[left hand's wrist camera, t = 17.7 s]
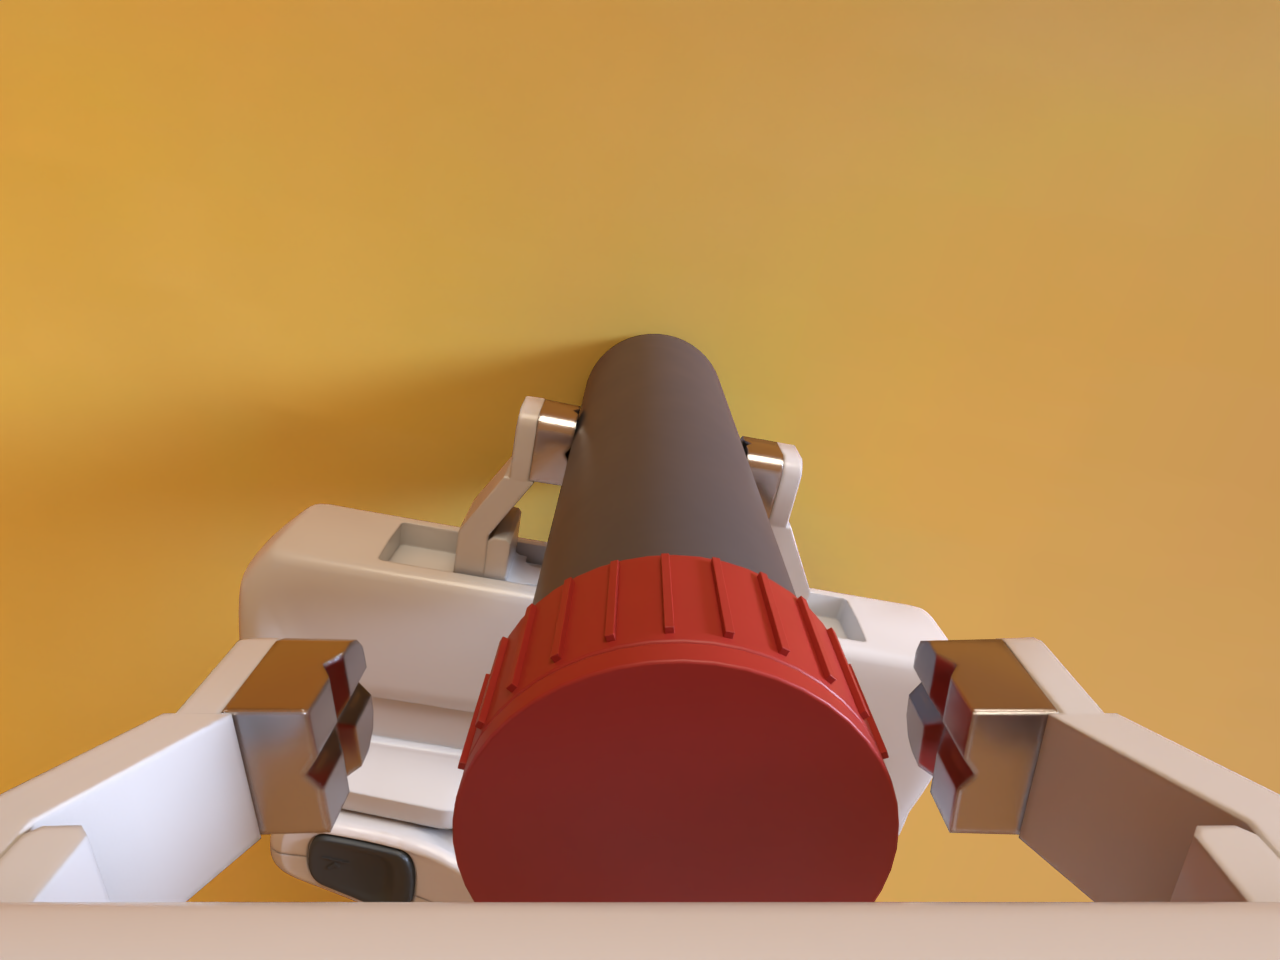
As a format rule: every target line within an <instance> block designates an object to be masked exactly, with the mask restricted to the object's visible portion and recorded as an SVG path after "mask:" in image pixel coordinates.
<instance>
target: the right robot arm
mask: <svg viewBox="0 0 1280 960" xmlns="http://www.w3.org/2000/svg"><path fill="white" fill-rule="evenodd" d="M579 413H580V406H576V405H571V404H566V403H561V402H556V401H551V400H546V399H544V398H538V397H531V396H526V398H525V400H524V402H523V404H522V406H521V409H520V413H519V417H518V422H517V426H516V433H515V440H514V447H513V454H512V456H511V458H510V459H509V460H508V461H507V462H506V463H505V465H504V466H503V467H502V468H501V469H500V470H499V471H498V473H497V474H496V475H495V476H494V477H493V478H492V480H491V481H490V482H489V483H488V484H487V485H486V486H485V488H484V489H483V490H482V491H481V492H480V493H479V495H478V496H477V497H476V498H475V499H474V501H473V503H472V505H471V507H470V509H469V511H468V513H467V515H466V517H465V519H464V521H463V523H462V525H461V527H456V526H450V525H444V524H439V523H433V522H427V521H421V520H416V519H410V518H404V517H398V516H393V515H387V514H381V513H375V512H370V511H364V510H358V509H352V508H347V507H342V506H336V505H330V504H315V505H313V506H310V507H309V508H307V509H306V510H304V511H303V512H301V513H300V514H299V515H297V516H296V517H295V518H293V519H292V520H291V521H290V522H288V523H287V524H286V525H284V526H283V527H282V528H281V529H280V530H279V531H278V532H277V533H275V534H274V535H273V536H272V537H271V538H270V539H269V540H268V541H267V542H266V544H265V545H264V546H263V547H262V548H261V549H260V550H259V551H258V552H257V554H256V555H255V556H254V558H253V559H252V561H251V562H250V564H249V565H248V567H247V569H246V571H245V573H244V575H243V578H242V581H241V586H240V595H239V638H240V640H243V639H246V638H281V639H284V638H305V639H353V640H357V641H358V642H359V643H360V644H361V645H362V646H363V650H364V655H365V660H366V665H367V668H366V669H365V671H364V673H363V675H362V677H361V679H360V681H359V683H360V684H361V685H362V686H363V687H364V688H365V689H366V690H367V691H368V692H369V693H370V694H371V697H372V704H373V732H372V737H371V742H370V747H369V751H368V753H367V755H366V757H365V760H364V762H363V764H362V766H361V767H360V768H358V769H357V770H356V771H354V772H353V773H351V774H350V775H349V776H347V779H348V785H349V791H350V792H349V794H348V797H347V799H346V801H345V803H344V805H343V807H342V809H341V811H340V813H339V815H338V818H337V820H336V822H335V824H334V826H333V828H332V830H331V832H330V833H295V834H271V839H270V850H271V855H272V858H273V860H274V862H275V864H276V865H277V866H278V867H279V868H280V869H281V870H283V871H284V872H285V873H287V874H289V875H291V876H293V877H295V878H297V879H300V880H302V881H305V882H307V883H310V884H312V885H315V886H318V887H320V888H323V889H326V890H328V891H331V892H334V893H336V894H339V895H341V896H344V897H346V898H349V899H351V900H353V901H356V902H474V901H473V899H472V897H471V895H470V894H469V892H468V890H467V888H466V887H465V884H464V882H463V879H462V876H461V874H460V871H459V868H458V866H457V861H456V856H455V851H454V845H453V825H452V819H453V813H454V807H455V806H454V804H455V800H456V796H457V792H458V789H459V785H460V782H461V779H462V776H463V772H464V770H462V769H458V764H459V761H460V757H461V754H462V751H463V747H464V744H465V741H466V738H467V734H468V731H469V728H470V724H471V721H472V718H473V715H474V711H475V708H476V705H477V701H478V698H479V695H480V692H481V688H482V685H483V682H484V678H485V675H486V674H490V673H491V669H492V666H493V663H494V659H495V656H496V652H497V649H498V646H499V642H500V640H501V639H502V637H503V636H504V637H506V638H508V636H509V635H510V634H511V632H512V631H513V629H514V628H515V627H516V625H517V624H518V623H519V621H520V620H521V619H522V618H523V617H524V616H525V613H526V609H527V607H528V606H529V605H530V604H531V603H533V599H534V595H535V591H536V587H537V583H538V579H539V575H540V571H541V567H542V563H543V559H544V555H545V551H546V547H547V543H548V542H542V541H537V540H531V539H525V538H519V537H518V533H519V525H520V518H521V511H520V509H519V508H516V507H514V505H515V504H516V503H517V502H518V501H519V499H520V498H521V497H522V496H523V495H524V494H525V492H526V491H527V490H528V489H529V488H530V487H531V485H532V484H533V483H534V481H535V482H541V483H548V484H554V485H561V486H562V482H563V478H564V474H565V470H566V466H567V462H568V458H569V454H570V450H571V446H572V443H573V440H574V436H575V432H576V427H577V424H578V419H579ZM740 440H741V443H742V446H743V449H744V451H745V454H746V457H747V460H748V463H749V465H750V468H751V471H752V474H753V477H754V479H755V482H756V485H757V488H758V491H759V493H760V496H761V499H762V502H763V505H764V507H765V510H766V513H767V516H768V519H769V521H770V524H771V527H772V530H773V533H774V535H775V538H776V541H777V544H778V547H779V549H780V552H781V555H782V558H783V561H784V563H785V566H786V569H787V572H788V575H789V577H790V580H791V583H792V586H793V589H794V591H795V594H796V597H797V598H799V597H800V596H802V597H803V598H805V599H806V601H807V603H808V606H809V608H810V609H811V611H812V612H813V613H814V614H815V615H816V616H817V617H818V618H819V620H820V621H821V622H822V623H823V624H824V626H825V627H826V629H829V628H831V627H832V628H833V630H834V631H835V633H836V635H837V638H838V640H839V643H840V645H841V647H842V650H843V652H844V655H845V657H846V660H847V662H848V664H851V666H852V668H853V670H854V673H855V675H856V678H857V680H858V682H859V685H860V687H861V690H862V692H863V694H864V697H865V699H866V702H867V704H868V706H869V709H870V711H871V714H872V716H873V718H874V721H875V723H876V726H877V728H878V730H879V733H880V735H881V737H882V740H883V742H884V745H885V747H886V749H887V752H888V755H889V758H886V759H883V761H884V763H885V765H886V768H887V770H888V773H889V775H890V777H891V780H892V783H893V787H894V791H895V795H896V799H897V803H898V816H899V832H898V836H899V834H900V832H901V830H902V827H903V825H904V823H905V820H906V818H907V816H908V813H909V812H910V810H911V809H912V807H913V806H914V804H915V803H916V802H917V800H918V799H919V797H920V796H921V795H922V793H923V792H924V790H925V788H926V787H927V785H928V784H929V782H930V781H931V779H932V778H933V776H931V775H930V774H929V773H927V772H926V771H924V770H923V769H922V768H920V767H919V766H918V764H917V762H916V760H915V758H914V755H913V753H912V750H911V746H910V743H909V739H908V732H907V719H906V714H907V706H908V697H909V694H910V693H911V692H912V691H913V690H914V689H915V688H916V687H917V686H918V685H919V684H920V683H921V681H920V679H919V677H918V675H917V673H916V671H915V669H914V668H913V665H914V659H915V653H916V650H917V648H918V645H919V643H920V641H932V640H948V639H947V637H946V636H945V635H944V633H943V632H942V630H941V629H940V628H939V626H938V625H937V624H936V622H935V621H934V619H933V618H932V617H931V616H930V615H929V614H928V613H927V612H926V611H925V610H923V609H921V608H918V607H915V606H911V605H906V604H900V603H894V602H888V601H882V600H877V599H871V598H865V597H859V596H853V595H848V594H842V593H836V592H830V591H825V590H819V589H813V588H809V586H808V583H807V579H806V576H805V573H804V569H803V566H802V562H801V559H800V556H799V552H798V549H797V545H796V542H795V539H794V535H793V532H792V529H791V526H790V524H789V517H790V514H791V510H792V507H793V504H794V500H795V497H796V493H797V490H798V486H799V483H800V479H801V476H802V458H801V456H800V454H799V453H798V451H797V449H796V447H795V445H789V444H784V443H778V442H773V441H768V440H762V439H756V438H750V437H745V436H742V438H741V439H740Z"/></svg>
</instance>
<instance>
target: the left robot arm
mask: <svg viewBox="0 0 1280 960" xmlns="http://www.w3.org/2000/svg"><path fill="white" fill-rule="evenodd" d="M366 668H367V665H366V660H365V655H364V650H363V646H362V645H361V644H360V643H359V642H358V641H357V640H353V639H305V638H284V639H281V638H246V639H243V640H239V641H238V642H237V643H236V644H235V645H234V646H233V647H232V649H231V650H230V651H229V652H228V653H227V654H226V656H225V657H224V658H223V659H222V660H221V661H220V662H219V664H218V665H217V666H216V667H215V668H214V669H213V671H212V672H211V673H210V674H209V675H208V676H207V678H206V679H205V680H204V681H203V682H202V683H201V684H200V686H199V687H198V688H197V689H196V690H195V691H194V693H193V694H192V695H191V696H190V697H189V698H188V700H187V701H186V702H185V703H184V704H183V705H182V706H181V708H180V709H179V710H178V711H177V712H176V713H163V714H161V715H159V716H157V717H155V718H153V719H151V720H149V721H147V722H145V723H143V724H141V725H139V726H137V727H135V728H133V729H131V730H129V731H127V732H125V733H123V734H121V735H119V736H117V737H115V738H113V739H111V740H109V741H107V742H105V743H103V744H101V745H99V746H97V747H95V748H93V749H91V750H89V751H87V752H85V753H83V754H81V755H79V756H77V757H75V758H73V759H71V760H69V761H67V762H65V763H63V764H61V765H59V766H56V767H54V768H52V769H50V770H48V771H46V772H44V773H42V774H40V775H38V776H36V777H34V778H32V779H30V780H28V781H26V782H24V783H22V784H20V785H18V786H16V787H14V788H12V789H10V790H8V791H6V792H4V793H2V794H0V960H1280V795H1279V794H1277V793H1275V792H1273V791H1271V790H1269V789H1267V788H1265V787H1263V786H1261V785H1259V784H1257V783H1255V782H1253V781H1251V780H1249V779H1247V778H1245V777H1243V776H1241V775H1239V774H1237V773H1235V772H1233V771H1231V770H1229V769H1227V768H1225V767H1223V766H1221V765H1219V764H1217V763H1215V762H1213V761H1211V760H1209V759H1207V758H1205V757H1203V756H1201V755H1199V754H1197V753H1195V752H1193V751H1191V750H1189V749H1187V748H1185V747H1183V746H1181V745H1179V744H1177V743H1175V742H1173V741H1171V740H1169V739H1167V738H1165V737H1163V736H1161V735H1159V734H1157V733H1155V732H1153V731H1151V730H1149V729H1147V728H1145V727H1143V726H1141V725H1139V724H1137V723H1135V722H1133V721H1131V720H1129V719H1127V718H1125V717H1123V716H1121V715H1119V714H1117V713H1104V712H1103V711H1102V710H1101V709H1100V708H1099V707H1098V705H1097V704H1096V703H1095V702H1094V701H1093V700H1092V698H1091V697H1090V696H1089V695H1088V694H1087V693H1086V691H1085V690H1084V689H1083V688H1082V687H1081V686H1080V685H1079V683H1078V682H1077V681H1076V680H1075V679H1074V678H1073V676H1072V675H1071V674H1070V673H1069V672H1068V671H1067V669H1066V668H1065V667H1064V666H1063V665H1062V664H1061V663H1060V661H1059V660H1058V659H1057V658H1056V657H1055V656H1054V654H1053V653H1052V652H1051V651H1050V650H1049V649H1048V647H1047V646H1046V645H1045V644H1044V643H1043V642H1042V641H1040V640H1038V639H1036V638H1034V637H1029V638H1001V639H980V640H932V641H920V643H919V645H918V648H917V650H916V653H915V659H914V665H913V668H914V669H915V671H916V673H917V675H918V677H919V679H920V681H921V683H920V684H919V685H918V686H917V687H916V688H915V689H914V690H913V691H912V692H911V693H910V694H909V697H908V706H907V714H906V719H907V732H908V739H909V743H910V746H911V750H912V753H913V755H914V758H915V760H916V762H917V764H918V766H919V767H920V768H922V769H923V770H924V771H926V772H927V773H929V774H930V775H931V776H933V779H932V785H931V791H930V792H931V794H932V797H933V799H934V801H935V803H936V805H937V807H938V809H939V811H940V813H941V815H942V817H943V820H944V822H945V824H946V826H947V828H948V830H949V832H950V833H984V834H1019V838H1020V839H1021V840H1022V841H1023V842H1024V843H1026V844H1027V845H1028V846H1029V847H1030V848H1032V849H1033V850H1034V851H1035V852H1036V853H1037V854H1039V855H1040V856H1041V857H1042V858H1043V859H1044V860H1046V861H1047V862H1048V863H1049V864H1050V865H1052V866H1053V867H1054V868H1055V869H1056V870H1057V871H1059V872H1060V873H1061V874H1062V875H1063V876H1065V877H1066V878H1067V879H1068V880H1069V881H1070V882H1072V883H1073V884H1074V885H1075V886H1076V887H1077V888H1079V889H1080V890H1081V891H1082V892H1083V893H1085V894H1086V895H1087V896H1088V897H1089V898H1090V899H1092V900H1093V901H1094V902H186V901H187V900H189V899H190V898H191V897H192V896H193V895H194V894H196V893H197V892H198V891H199V890H200V889H202V888H203V887H204V886H205V885H206V884H207V883H209V882H210V881H211V880H212V879H213V878H215V877H216V876H217V875H218V874H219V873H220V872H222V871H223V870H224V869H225V868H226V867H228V866H229V865H230V864H231V863H232V862H233V861H235V860H236V859H237V858H238V857H239V856H241V855H242V854H243V853H244V852H245V851H246V850H248V849H249V848H250V847H251V846H252V845H254V844H255V843H256V842H257V841H258V840H259V839H261V835H260V834H295V833H330V832H331V830H332V828H333V826H334V824H335V822H336V820H337V818H338V815H339V813H340V811H341V809H342V807H343V805H344V803H345V801H346V799H347V797H348V794H349V792H350V791H349V785H348V779H347V776H349V775H350V774H351V773H353V772H354V771H356V770H357V769H358V768H360V767H361V766H362V764H363V762H364V760H365V757H366V755H367V753H368V751H369V747H370V742H371V737H372V732H373V704H372V697H371V694H370V693H369V692H368V691H367V690H366V689H365V688H364V687H363V686H362V685H361V684H360V683H359V681H360V679H361V677H362V675H363V673H364V671H365V669H366Z"/></svg>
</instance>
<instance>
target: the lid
mask: <svg viewBox="0 0 1280 960" xmlns="http://www.w3.org/2000/svg"><path fill="white" fill-rule="evenodd" d="M886 758H889V755H888V752H887V749H886V747H885V745H884V742H883V740H882V737H881V735H880V733H879V730H878V728H877V726H876V723H875V721H874V718H873V716H872V714H871V711H870V709H869V706H868V704H867V702H866V699H865V697H864V694H863V692H862V690H861V687H860V685H859V682H858V680H857V678H856V675H855V673H854V670H853V668H852V666H851V664H848V662H847V660H846V657H845V655H844V652H843V650H842V647H841V645H840V643H839V640H838V638H837V635H836V633H835V631H834V630H833V628H832V627H831V628H829V629H826V627H825V626H824V624H823V623H822V622H821V621H820V620H819V618H818V617H817V616H816V615H815V614H814V613H813V612H812V611H811V609H810V608H809V606H808V603H807V601H806V599H805V598H803V597H802V596H800V597H799V598H797V597H796V596H795V595H793V594H792V593H791V592H790V591H788V590H786V589H785V588H783V587H782V586H780V585H779V584H777V583H775V582H774V581H772V580H771V579H768V576H767V574H765V573H763V572H759V574H758V573H755V572H753V571H751V570H749V569H746V568H743V567H740V566H737V565H734V564H731V563H728V562H725V561H720V558H716V557H712V559H709V558H704V557H697V556H683V555H669V553H662V554H661V555H660V556H645V557H639V558H633V559H627V560H622V561H618V560H614V561H611V562H610V564H608V565H605V566H601V567H598V568H596V569H593V570H591V571H589V572H586V573H584V574H582V575H579V576H577V577H575V578H573V579H572V577H570V578H568V579H566V580H564V584H563V585H561V586H560V587H558V588H556V589H555V590H553V591H552V592H551V593H550V594H548V595H547V596H546V597H544V598H543V599H542V600H540V601H539V602H538V603H537V604H536V605H534V604H532V603H531V604H530V605H529V606H528V607H527V609H526V613H525V616H524V617H523V618H522V619H521V620H520V621H519V623H518V624H517V625H516V627H515V628H514V629H513V631H512V632H511V634H510V635H509V636H508V638H506V637H504V636H503V637H502V639H501V640H500V642H499V646H498V649H497V652H496V656H495V659H494V663H493V666H492V669H491V673H490V674H486V675H485V678H484V682H483V685H482V688H481V692H480V695H479V698H478V701H477V705H476V708H475V711H474V715H473V718H472V721H471V724H470V728H469V731H468V734H467V738H466V741H465V744H464V747H463V751H462V754H461V757H460V761H459V764H458V769H462V770H464V772H463V776H462V779H461V782H460V785H459V789H458V792H457V796H456V800H455V804H454V806H455V807H454V813H453V819H452V825H453V845H454V851H455V856H456V861H457V866H458V868H459V871H460V874H461V876H462V879H463V882H464V884H465V887H466V888H467V890H468V892H469V894H470V895H471V897H472V899H473V901H474V902H874V901H875V900H876V898H877V897H878V895H879V894H880V892H881V891H882V888H883V886H884V884H885V882H886V880H887V878H888V875H889V873H890V871H891V868H892V864H893V861H894V857H895V853H896V850H897V842H898V832H899V816H898V803H897V799H896V795H895V791H894V787H893V783H892V780H891V777H890V775H889V773H888V770H887V768H886V765H885V763H884V761H883V759H886Z"/></svg>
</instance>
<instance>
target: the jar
mask: <svg viewBox="0 0 1280 960" xmlns="http://www.w3.org/2000/svg"><path fill="white" fill-rule="evenodd" d="M662 553H669V555H683V556H697V557H704V558H709V559H712V557H716V558H720V561H725V562H728V563H731V564H734V565H737V566H740V567H743V568H746V569H749V570H751V571H753V572H755V573H758V574H759V572H763V573H765V574H767V576H768V579H771V580H772V581H774V582H775V583H777V584H779V585H780V586H782V587H783V588H785V589H786V590H788V591H790V592H791V593H792V594H793V595H795V596H796V594H795V591H794V589H793V586H792V583H791V580H790V577H789V575H788V572H787V569H786V566H785V563H784V561H783V558H782V555H781V552H780V549H779V547H778V544H777V541H776V538H775V535H774V533H773V530H772V527H771V524H770V521H769V519H768V516H767V513H766V510H765V507H764V505H763V502H762V499H761V496H760V493H759V491H758V488H757V485H756V482H755V479H754V477H753V474H752V471H751V468H750V465H749V463H748V460H747V457H746V454H745V451H744V449H743V446H742V443H741V440H740V437H739V435H738V432H737V429H736V426H735V423H734V421H733V418H732V415H731V412H730V409H729V407H728V404H727V401H726V398H725V395H724V393H723V390H722V387H721V384H720V381H719V379H718V376H717V374H716V371H715V370H714V368H713V366H712V364H711V363H710V362H709V360H708V359H707V358H706V357H705V356H704V355H703V354H702V353H701V352H700V351H699V350H698V349H696V348H695V347H694V346H693V345H691V344H689V343H687V342H686V341H683V340H681V339H679V338H676V337H672V336H668V335H662V334H646V335H639V336H635V337H632V338H629V339H626V340H624V341H622V342H620V343H618V344H617V345H615V346H613V347H612V348H611V349H610V350H608V351H607V352H606V353H605V354H604V355H603V356H602V357H601V358H600V359H599V361H598V362H597V363H596V365H595V366H594V368H593V370H592V372H591V374H590V376H589V379H588V381H587V385H586V389H585V393H584V397H583V401H582V405H581V410H580V414H579V419H578V424H577V427H576V432H575V436H574V440H573V443H572V446H571V450H570V454H569V458H568V462H567V466H566V470H565V474H564V478H563V482H562V486H561V490H560V494H559V498H558V502H557V506H556V511H555V515H554V519H553V523H552V527H551V531H550V535H549V539H548V543H547V547H546V551H545V555H544V559H543V563H542V567H541V571H540V575H539V579H538V583H537V587H536V591H535V595H534V599H533V603H532V604H534V605H536V604H537V603H538V602H539V601H540V600H542V599H543V598H544V597H546V596H547V595H548V594H550V593H551V592H552V591H553V590H555V589H556V588H558V587H560V586H561V585H563V584H564V580H566V579H568V578H570V577H572V579H573V578H575V577H577V576H579V575H582V574H584V573H586V572H589V571H591V570H593V569H596V568H598V567H601V566H605V565H608V564H610V562H611V561H614V560H618V561H622V560H627V559H633V558H639V557H645V556H660V555H661V554H662Z"/></svg>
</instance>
